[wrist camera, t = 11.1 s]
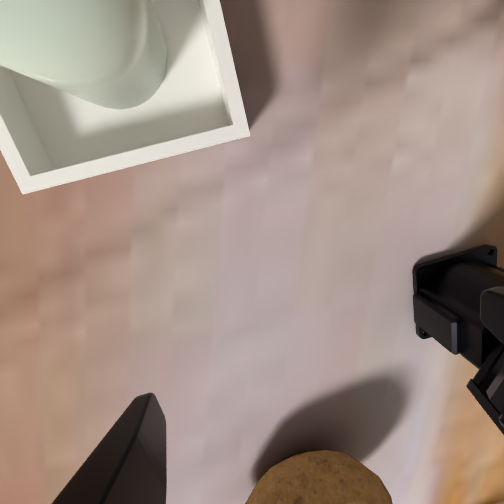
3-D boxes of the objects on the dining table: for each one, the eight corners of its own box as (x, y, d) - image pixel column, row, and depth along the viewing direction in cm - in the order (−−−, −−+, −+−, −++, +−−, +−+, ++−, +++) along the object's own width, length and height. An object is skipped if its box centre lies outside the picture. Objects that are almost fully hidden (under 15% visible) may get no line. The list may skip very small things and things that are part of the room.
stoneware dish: (184, -112, 14) (178, -181, 11) (243, 138, 18) (250, 135, 15) (-61, -61, 14) (-135, -120, 11) (53, 186, 18) (22, 194, 15)
